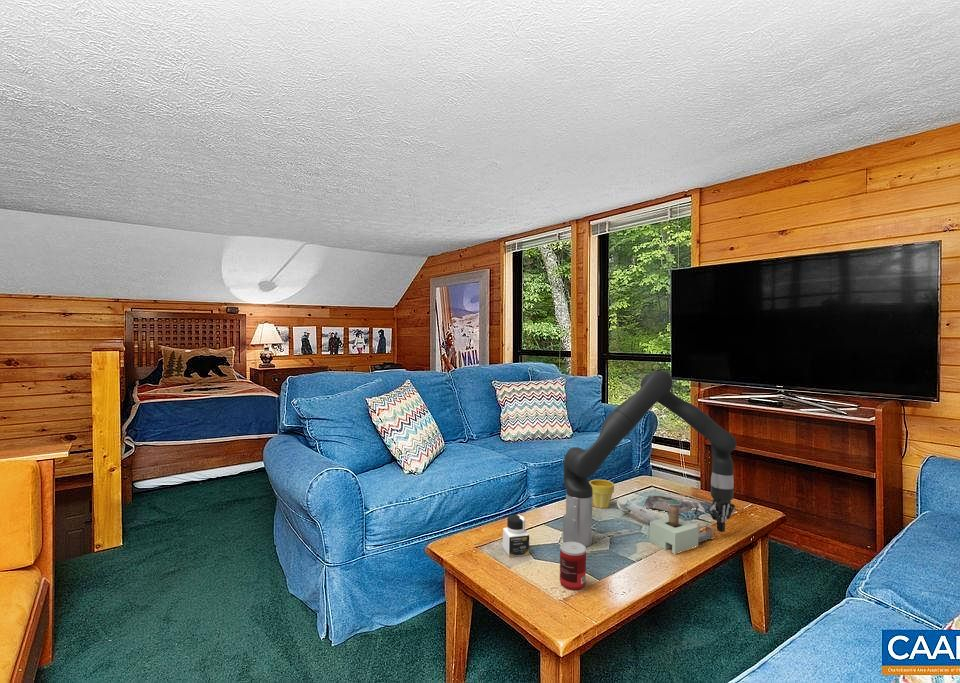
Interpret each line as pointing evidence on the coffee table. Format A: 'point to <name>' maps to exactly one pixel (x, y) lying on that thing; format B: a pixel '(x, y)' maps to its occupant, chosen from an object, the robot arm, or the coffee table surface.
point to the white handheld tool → (636, 509)
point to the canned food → (572, 565)
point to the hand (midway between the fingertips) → (720, 531)
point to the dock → (673, 535)
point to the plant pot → (602, 492)
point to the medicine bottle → (515, 537)
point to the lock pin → (707, 533)
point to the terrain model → (668, 504)
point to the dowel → (674, 516)
